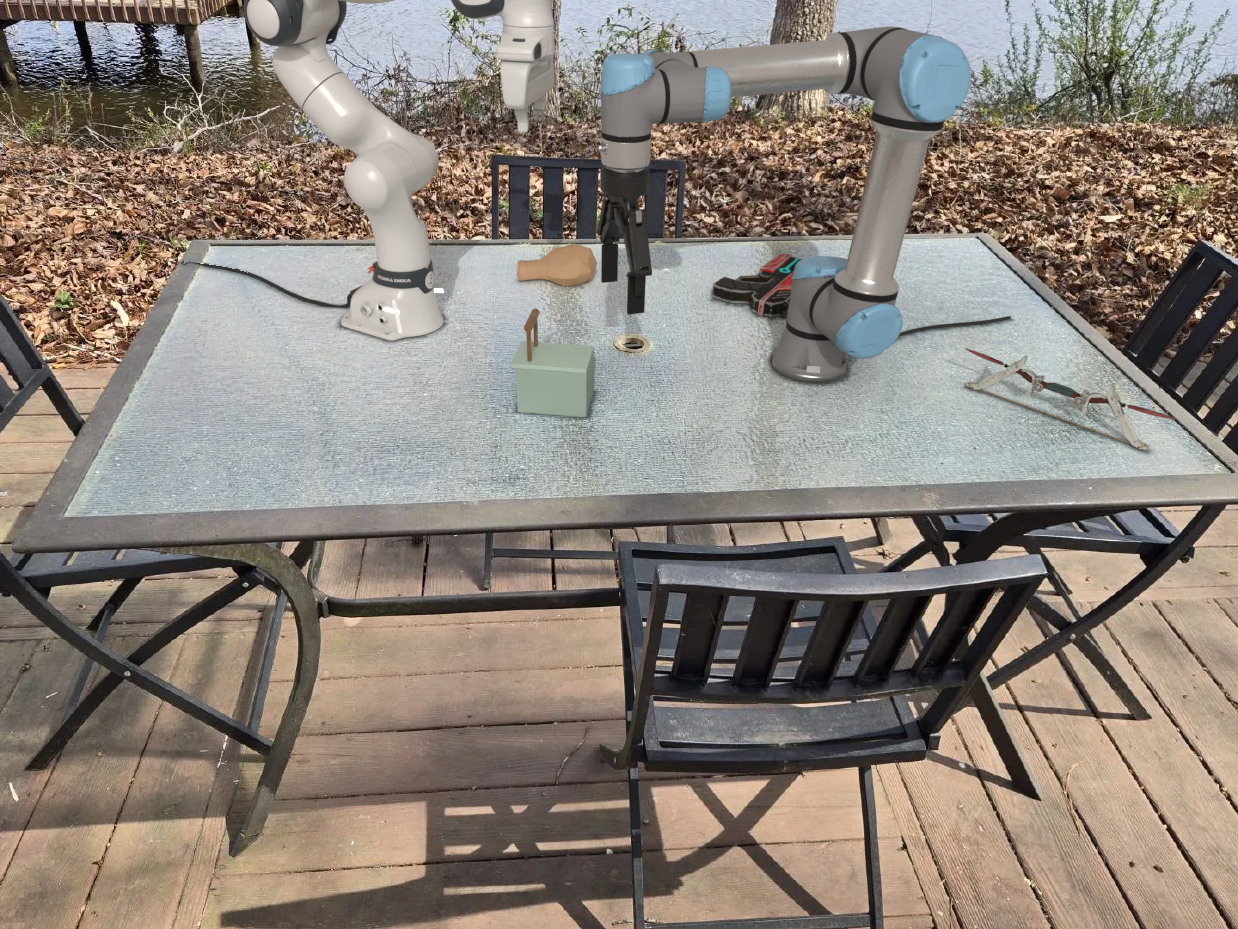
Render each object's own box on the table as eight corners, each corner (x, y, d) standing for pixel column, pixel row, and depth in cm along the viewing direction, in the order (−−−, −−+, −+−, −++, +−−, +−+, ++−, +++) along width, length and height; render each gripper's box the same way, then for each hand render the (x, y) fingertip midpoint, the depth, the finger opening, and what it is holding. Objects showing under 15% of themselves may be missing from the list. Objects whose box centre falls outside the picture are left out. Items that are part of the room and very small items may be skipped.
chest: (517, 412, 165) (515, 368, 159) (527, 387, 173) (526, 345, 168) (586, 417, 163) (586, 373, 158) (593, 392, 172) (593, 350, 166)
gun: (708, 284, 207) (784, 305, 199) (760, 245, 229) (831, 262, 221) (706, 302, 209) (781, 323, 201) (758, 261, 231) (828, 278, 223)
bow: (1161, 452, 158) (1183, 404, 152) (1158, 456, 157) (1180, 408, 151) (958, 380, 179) (970, 335, 174) (954, 383, 178) (966, 338, 173)
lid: (510, 368, 160) (508, 326, 155) (521, 344, 168) (519, 304, 163) (586, 373, 158) (586, 331, 154) (593, 349, 166) (594, 309, 162)
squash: (598, 290, 214) (593, 257, 208) (517, 297, 216) (510, 265, 210) (599, 266, 222) (594, 234, 216) (521, 274, 224) (515, 242, 218)
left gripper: (528, 33, 162) (531, 112, 170) (493, 50, 145) (497, 136, 153) (561, 35, 161) (562, 114, 169) (529, 52, 144) (532, 139, 152)
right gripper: (578, 147, 142) (579, 271, 154) (628, 191, 123) (624, 330, 135) (622, 144, 144) (619, 267, 156) (678, 187, 125) (670, 324, 137)
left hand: (531, 125), depth 161 cm, fingers open, 8 cm apart
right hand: (622, 296), depth 145 cm, fingers open, 13 cm apart
